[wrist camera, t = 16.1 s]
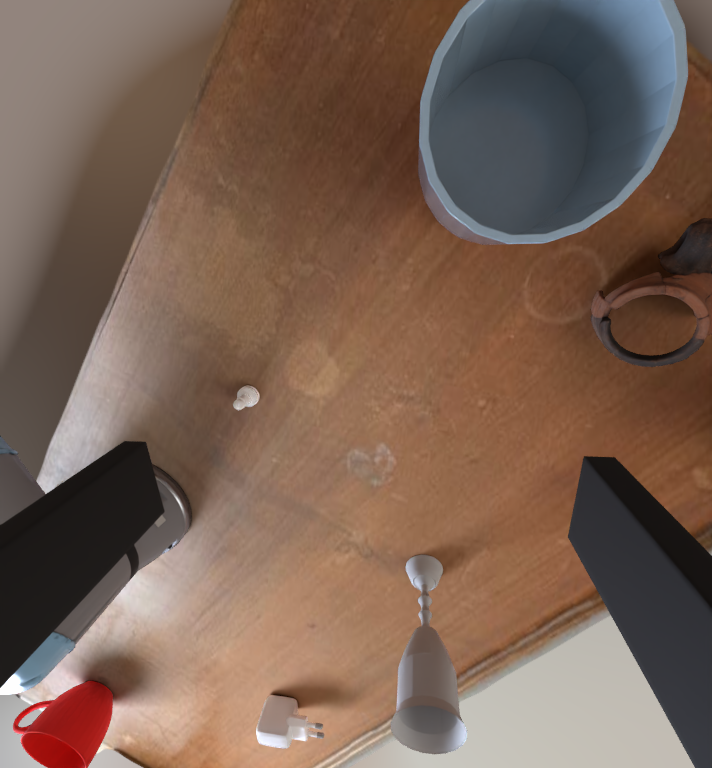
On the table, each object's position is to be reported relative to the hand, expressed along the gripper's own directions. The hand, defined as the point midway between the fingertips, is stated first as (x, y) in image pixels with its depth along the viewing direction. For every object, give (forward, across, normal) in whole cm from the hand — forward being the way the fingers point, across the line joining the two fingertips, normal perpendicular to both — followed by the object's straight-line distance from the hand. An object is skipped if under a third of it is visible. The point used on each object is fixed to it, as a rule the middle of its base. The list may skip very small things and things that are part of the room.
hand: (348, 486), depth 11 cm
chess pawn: (+30, +17, +9) cm, 36 cm away
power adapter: (+30, +18, +69) cm, 78 cm away
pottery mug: (+29, -24, -2) cm, 38 cm away
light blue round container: (+20, -8, -12) cm, 25 cm away
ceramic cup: (+31, +63, +75) cm, 103 cm away
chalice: (+30, -4, +35) cm, 46 cm away
